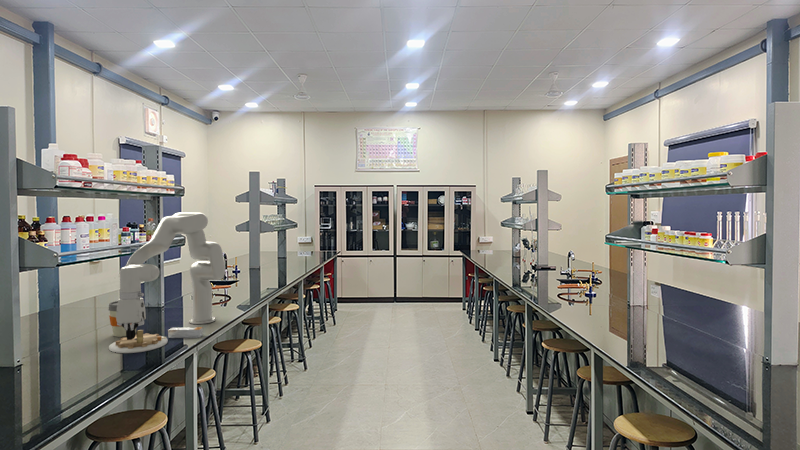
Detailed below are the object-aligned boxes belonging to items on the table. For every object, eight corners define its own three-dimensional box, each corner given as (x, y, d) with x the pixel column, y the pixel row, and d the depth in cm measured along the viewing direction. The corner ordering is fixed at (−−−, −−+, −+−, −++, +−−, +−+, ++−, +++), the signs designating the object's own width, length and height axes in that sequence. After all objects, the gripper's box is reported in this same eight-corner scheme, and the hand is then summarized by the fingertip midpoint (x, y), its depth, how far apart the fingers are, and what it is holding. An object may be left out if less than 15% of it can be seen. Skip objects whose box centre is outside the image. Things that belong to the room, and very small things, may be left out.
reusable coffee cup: (123, 329, 220) (123, 299, 219) (146, 331, 217) (145, 300, 217) (102, 336, 207) (101, 304, 207) (125, 338, 205) (125, 305, 204)
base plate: (125, 338, 206) (125, 334, 206) (175, 337, 207) (175, 334, 207) (97, 353, 184) (97, 350, 184) (153, 352, 186) (153, 349, 186)
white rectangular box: (171, 336, 210) (171, 327, 210) (202, 335, 211) (202, 327, 211) (168, 338, 206) (168, 329, 206) (199, 338, 207) (199, 329, 207)
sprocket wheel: (115, 340, 198) (114, 325, 198) (159, 334, 208) (159, 320, 207) (116, 351, 184) (115, 335, 183) (163, 344, 193) (163, 329, 193)
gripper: (153, 294, 194) (153, 336, 194) (117, 294, 193) (117, 336, 193) (144, 297, 186) (144, 341, 187) (106, 297, 185) (107, 341, 186)
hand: (130, 338), depth 190 cm, fingers closed
